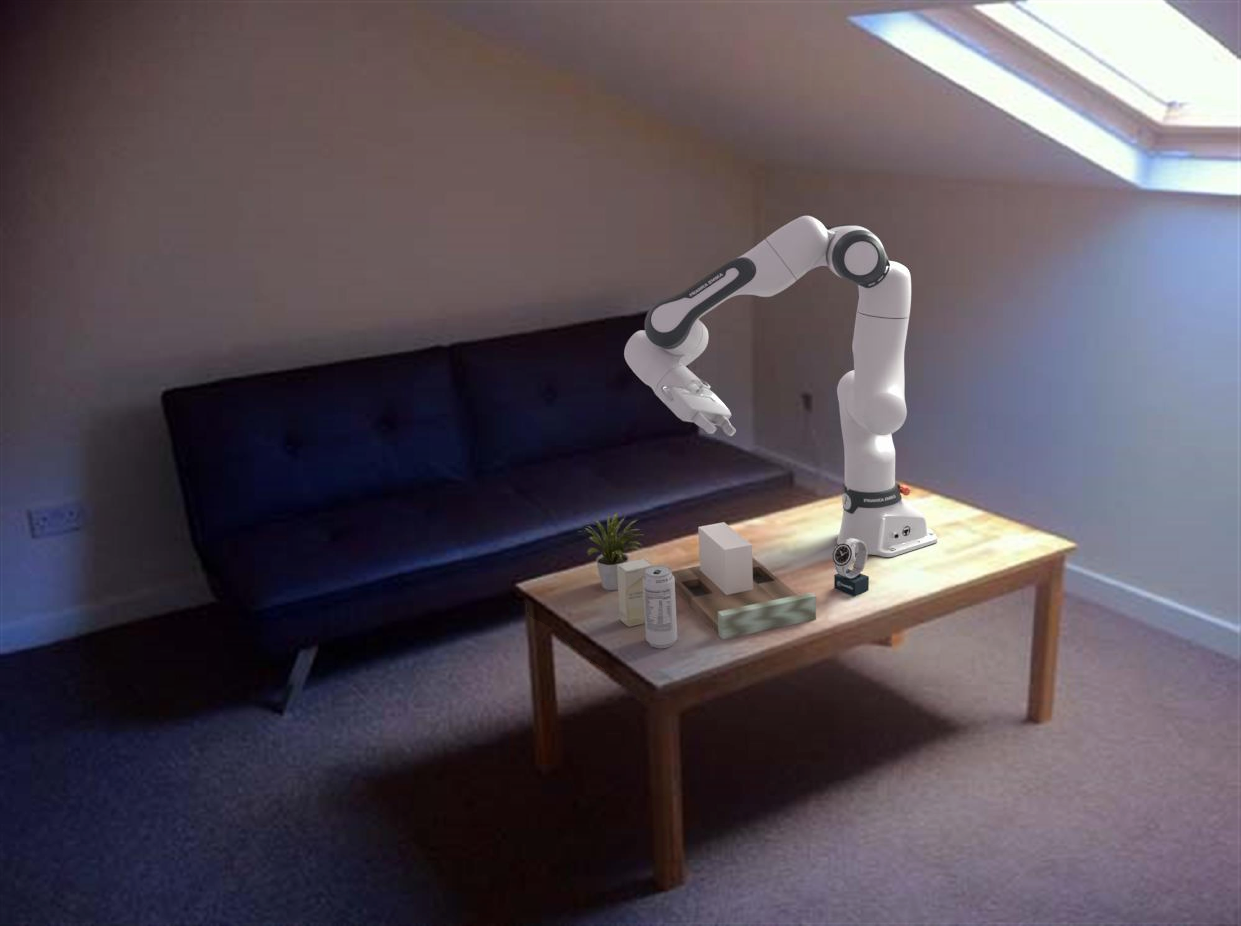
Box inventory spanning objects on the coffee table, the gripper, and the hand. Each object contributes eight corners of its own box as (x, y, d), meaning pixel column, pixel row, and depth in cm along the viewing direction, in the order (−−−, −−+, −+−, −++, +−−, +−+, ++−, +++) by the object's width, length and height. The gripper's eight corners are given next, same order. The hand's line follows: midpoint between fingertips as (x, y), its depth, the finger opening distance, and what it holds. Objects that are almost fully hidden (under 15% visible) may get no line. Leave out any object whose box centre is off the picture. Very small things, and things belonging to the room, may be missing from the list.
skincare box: (628, 627, 221) (624, 571, 217) (619, 619, 225) (615, 563, 221) (656, 620, 223) (653, 564, 219) (647, 612, 227) (644, 557, 223)
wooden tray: (751, 564, 247) (750, 543, 245) (815, 619, 219) (815, 596, 218) (666, 580, 241) (665, 559, 239) (722, 639, 214) (721, 615, 212)
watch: (827, 591, 231) (827, 542, 228) (853, 579, 236) (853, 531, 232) (848, 599, 227) (849, 549, 223) (874, 587, 232) (875, 538, 228)
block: (725, 564, 242) (724, 522, 239) (753, 589, 229) (751, 544, 226) (700, 569, 240) (698, 526, 237) (726, 594, 228) (724, 549, 225)
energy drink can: (681, 636, 216) (678, 565, 211) (671, 651, 210) (667, 578, 206) (652, 633, 218) (648, 562, 213) (641, 647, 213) (637, 575, 208)
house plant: (605, 608, 230) (600, 534, 225) (565, 588, 240) (559, 518, 235) (657, 586, 238) (653, 515, 233) (616, 568, 249) (612, 500, 244)
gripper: (666, 374, 228) (710, 418, 222) (709, 382, 245) (752, 424, 240) (647, 397, 230) (691, 441, 224) (692, 404, 248) (734, 445, 242)
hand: (723, 432), depth 232 cm, fingers open, 8 cm apart
